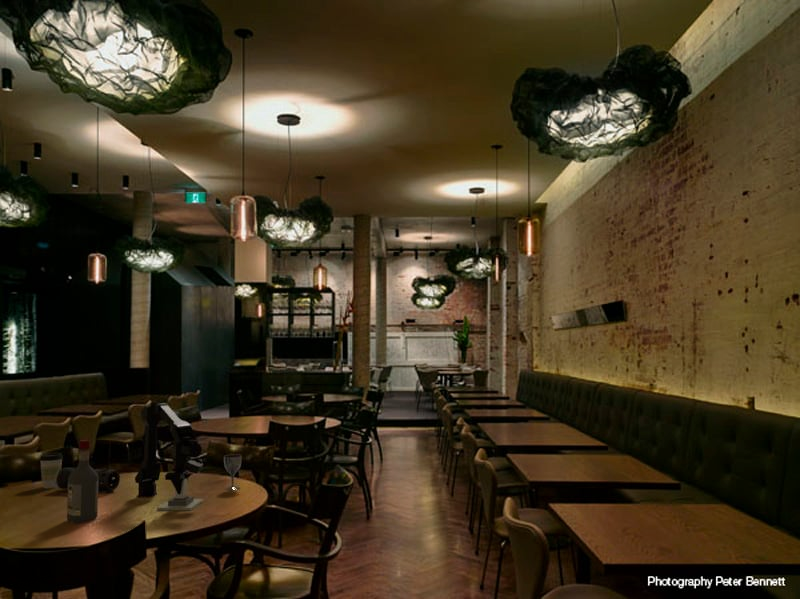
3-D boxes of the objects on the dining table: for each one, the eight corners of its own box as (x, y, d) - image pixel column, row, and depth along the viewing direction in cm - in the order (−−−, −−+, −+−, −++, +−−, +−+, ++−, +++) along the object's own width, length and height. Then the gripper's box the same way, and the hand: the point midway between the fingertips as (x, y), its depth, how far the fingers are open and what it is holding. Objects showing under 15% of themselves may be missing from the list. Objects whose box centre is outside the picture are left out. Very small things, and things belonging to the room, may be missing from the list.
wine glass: (230, 491, 280) (231, 458, 281) (219, 489, 284) (220, 456, 285) (244, 488, 286) (245, 455, 287) (234, 485, 291) (234, 453, 292)
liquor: (89, 515, 243) (91, 438, 245) (99, 519, 237) (101, 440, 239) (64, 520, 236) (66, 440, 238) (75, 524, 230) (77, 443, 232)
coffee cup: (33, 488, 288) (34, 456, 289) (50, 483, 297) (51, 452, 298) (50, 489, 285) (51, 457, 286) (67, 485, 295) (68, 453, 296)
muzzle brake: (106, 495, 275) (107, 471, 276) (52, 492, 280) (52, 469, 281) (120, 490, 284) (120, 467, 285) (67, 487, 290) (68, 465, 290)
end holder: (157, 510, 249) (157, 502, 249) (171, 501, 263) (171, 494, 263) (191, 510, 248) (191, 502, 249) (203, 501, 262) (203, 494, 263)
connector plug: (175, 498, 254) (175, 477, 255) (178, 496, 258) (179, 475, 258) (183, 498, 254) (183, 477, 255) (186, 496, 258) (187, 475, 258)
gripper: (192, 459, 248) (191, 498, 247) (208, 450, 266) (208, 487, 265) (164, 459, 248) (164, 498, 247) (183, 450, 267) (182, 487, 266)
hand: (181, 492), depth 256 cm, fingers closed on connector plug, 3 cm apart
